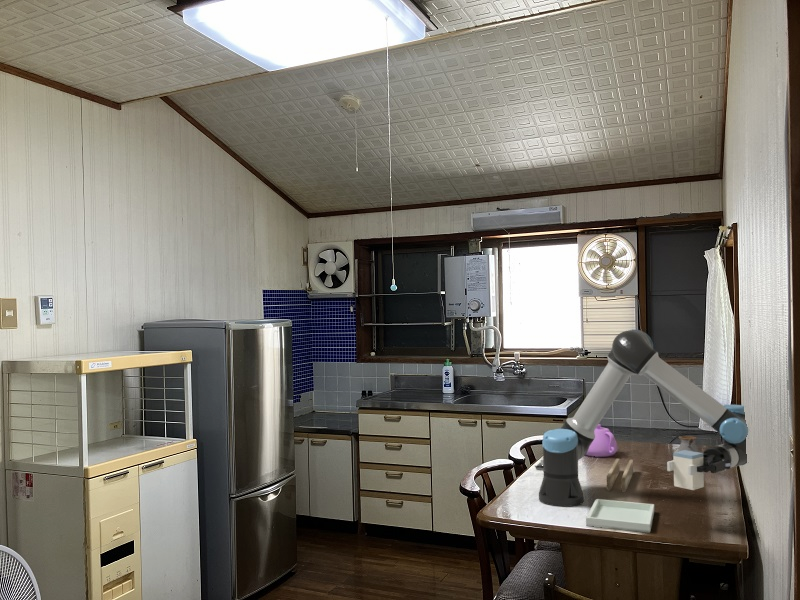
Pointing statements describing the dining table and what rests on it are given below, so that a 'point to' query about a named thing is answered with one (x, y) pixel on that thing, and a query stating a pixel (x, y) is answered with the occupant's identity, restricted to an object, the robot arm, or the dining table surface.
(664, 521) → the dining table surface
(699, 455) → the white boxy piece
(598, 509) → the tray
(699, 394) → the robot arm
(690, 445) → the coffee pot
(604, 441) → the teapot
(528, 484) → the dining table surface
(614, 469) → the wooden napkin holder
